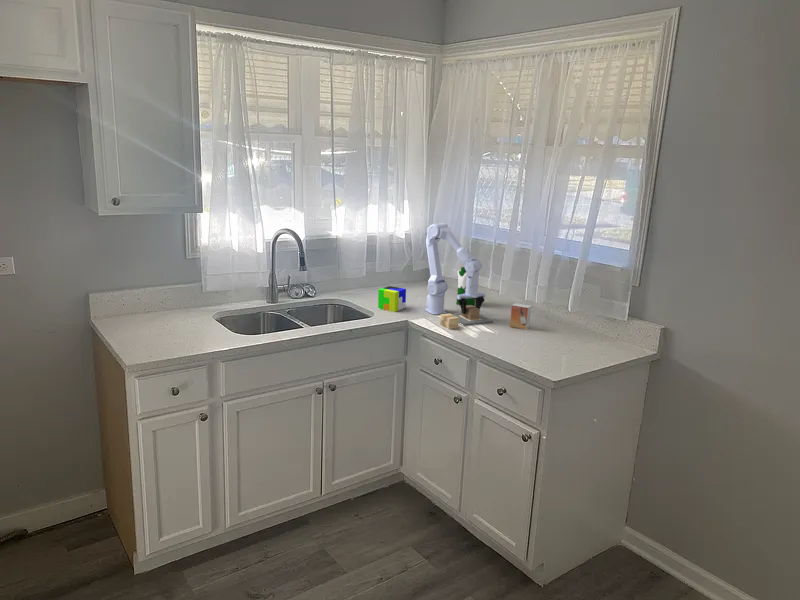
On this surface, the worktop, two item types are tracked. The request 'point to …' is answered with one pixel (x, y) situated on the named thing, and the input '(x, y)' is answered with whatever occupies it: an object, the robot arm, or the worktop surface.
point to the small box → (520, 316)
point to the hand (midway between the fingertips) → (470, 312)
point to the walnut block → (471, 312)
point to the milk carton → (463, 286)
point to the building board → (469, 322)
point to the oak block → (449, 321)
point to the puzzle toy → (392, 298)
